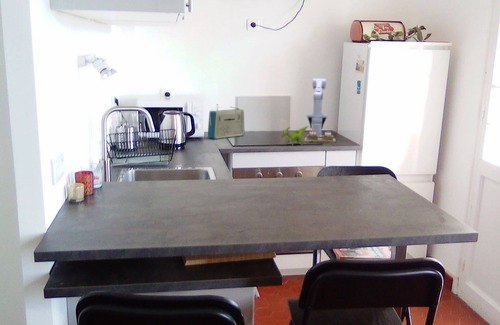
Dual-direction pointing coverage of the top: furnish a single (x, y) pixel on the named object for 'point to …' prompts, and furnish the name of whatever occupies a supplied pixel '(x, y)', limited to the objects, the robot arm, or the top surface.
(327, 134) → the grey plug
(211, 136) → the radio
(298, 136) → the toy
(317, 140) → the socket panel
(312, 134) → the plug red
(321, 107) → the robot arm
